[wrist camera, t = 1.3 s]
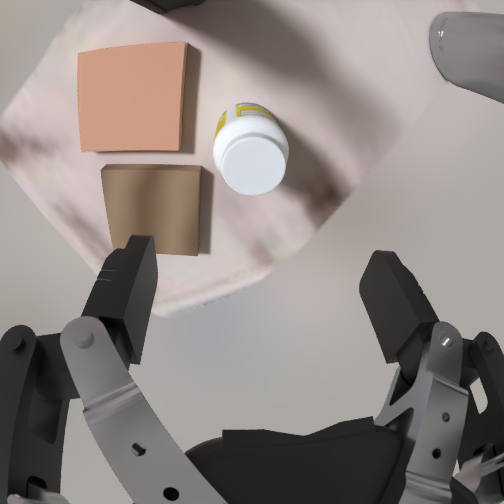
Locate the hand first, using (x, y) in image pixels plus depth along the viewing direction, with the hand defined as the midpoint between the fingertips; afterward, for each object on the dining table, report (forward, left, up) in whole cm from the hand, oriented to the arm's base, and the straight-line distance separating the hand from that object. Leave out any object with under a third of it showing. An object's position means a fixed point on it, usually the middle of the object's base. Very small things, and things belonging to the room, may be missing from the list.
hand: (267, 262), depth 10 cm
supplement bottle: (0, 0, -19) cm, 19 cm away
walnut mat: (+9, +9, -19) cm, 22 cm away
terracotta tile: (+11, -3, -19) cm, 22 cm away
